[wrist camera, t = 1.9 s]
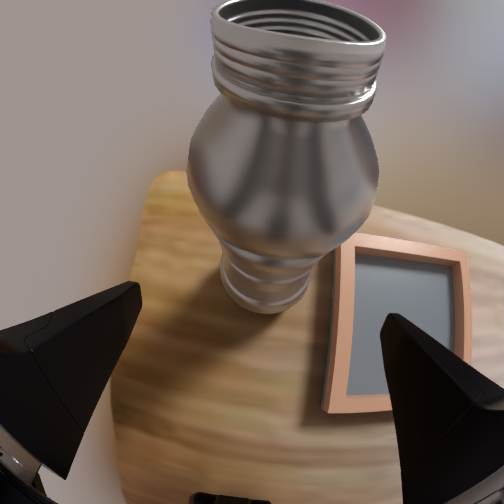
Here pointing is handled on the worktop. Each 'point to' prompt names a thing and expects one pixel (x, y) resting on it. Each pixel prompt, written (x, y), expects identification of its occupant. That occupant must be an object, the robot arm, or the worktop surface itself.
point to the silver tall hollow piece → (285, 142)
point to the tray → (389, 301)
